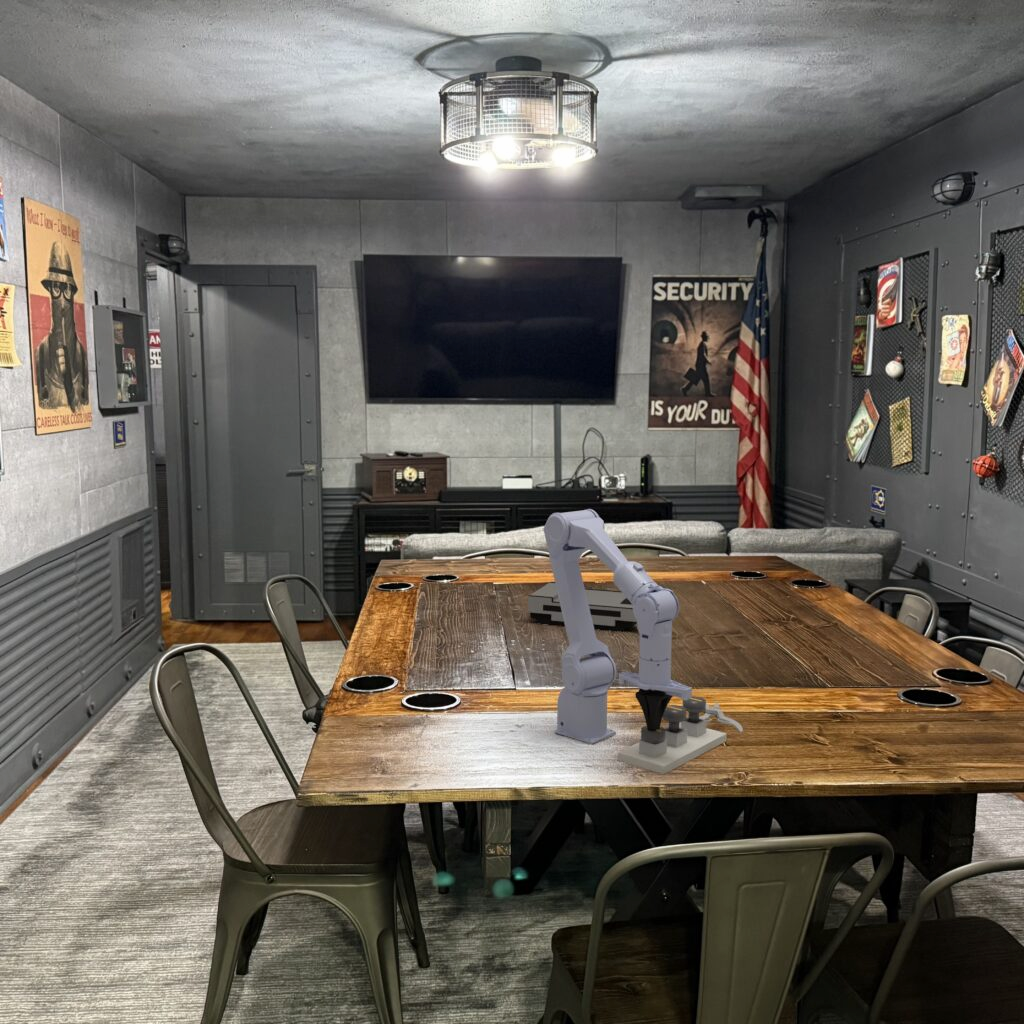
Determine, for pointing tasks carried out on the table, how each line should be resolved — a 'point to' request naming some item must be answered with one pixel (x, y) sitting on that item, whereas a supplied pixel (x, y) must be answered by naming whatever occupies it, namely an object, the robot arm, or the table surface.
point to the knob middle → (674, 716)
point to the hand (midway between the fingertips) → (653, 729)
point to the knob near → (653, 735)
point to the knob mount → (673, 747)
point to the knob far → (694, 708)
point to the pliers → (720, 716)
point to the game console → (604, 607)
